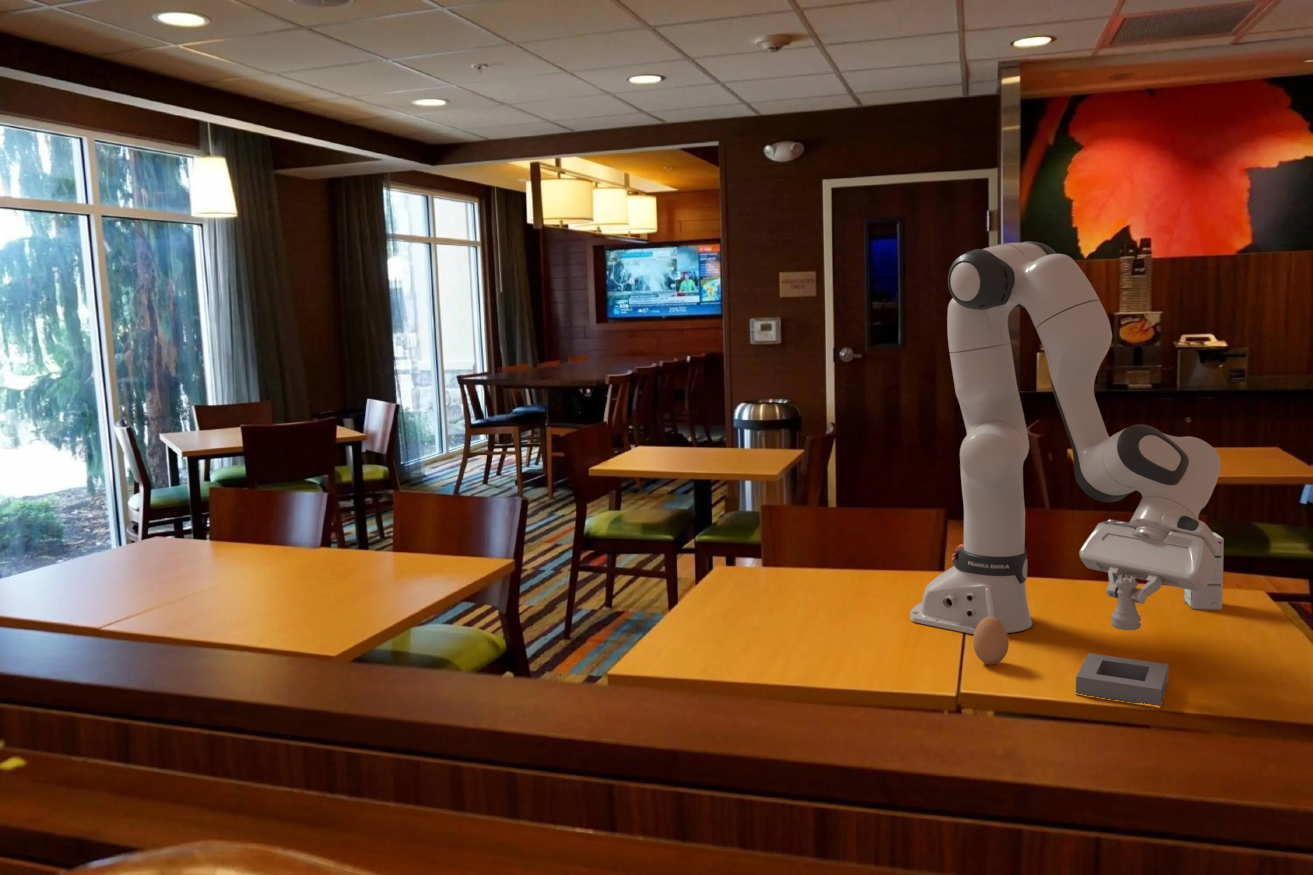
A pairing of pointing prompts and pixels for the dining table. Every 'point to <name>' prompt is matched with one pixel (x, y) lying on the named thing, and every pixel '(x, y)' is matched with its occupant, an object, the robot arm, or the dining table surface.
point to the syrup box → (1209, 586)
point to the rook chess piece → (1126, 605)
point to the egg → (990, 641)
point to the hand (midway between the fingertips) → (1124, 598)
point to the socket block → (1122, 679)
